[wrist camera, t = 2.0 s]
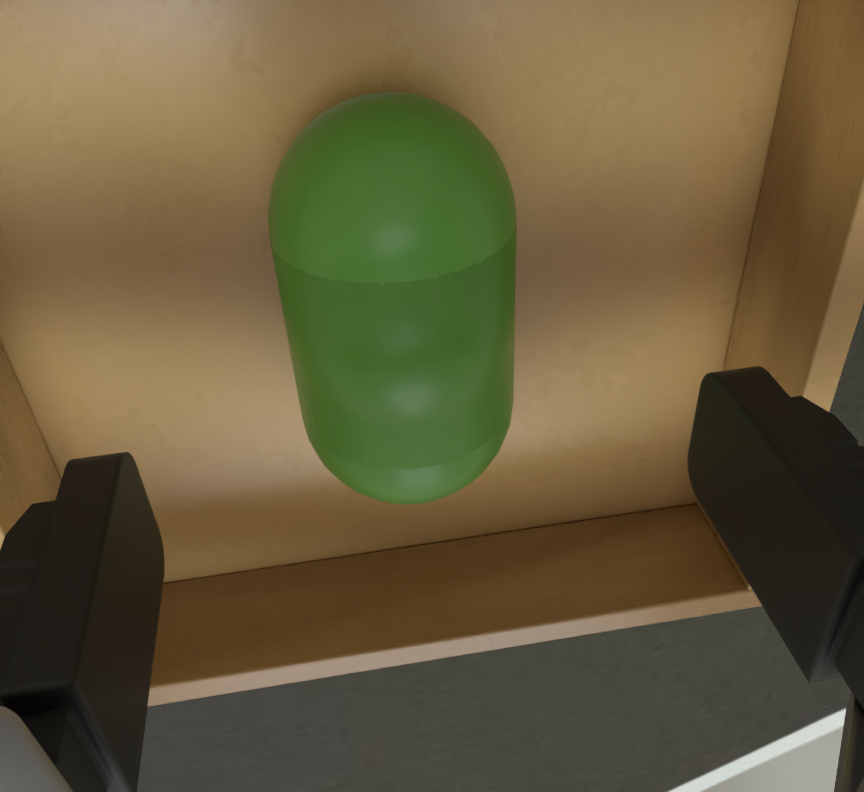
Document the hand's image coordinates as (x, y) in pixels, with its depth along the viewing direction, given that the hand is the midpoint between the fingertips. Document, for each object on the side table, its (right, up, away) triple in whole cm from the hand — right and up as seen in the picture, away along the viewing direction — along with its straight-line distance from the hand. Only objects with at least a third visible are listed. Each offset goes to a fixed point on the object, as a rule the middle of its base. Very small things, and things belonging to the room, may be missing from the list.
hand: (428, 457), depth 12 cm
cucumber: (-1, +3, +4) cm, 6 cm away
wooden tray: (-1, +4, +5) cm, 6 cm away
